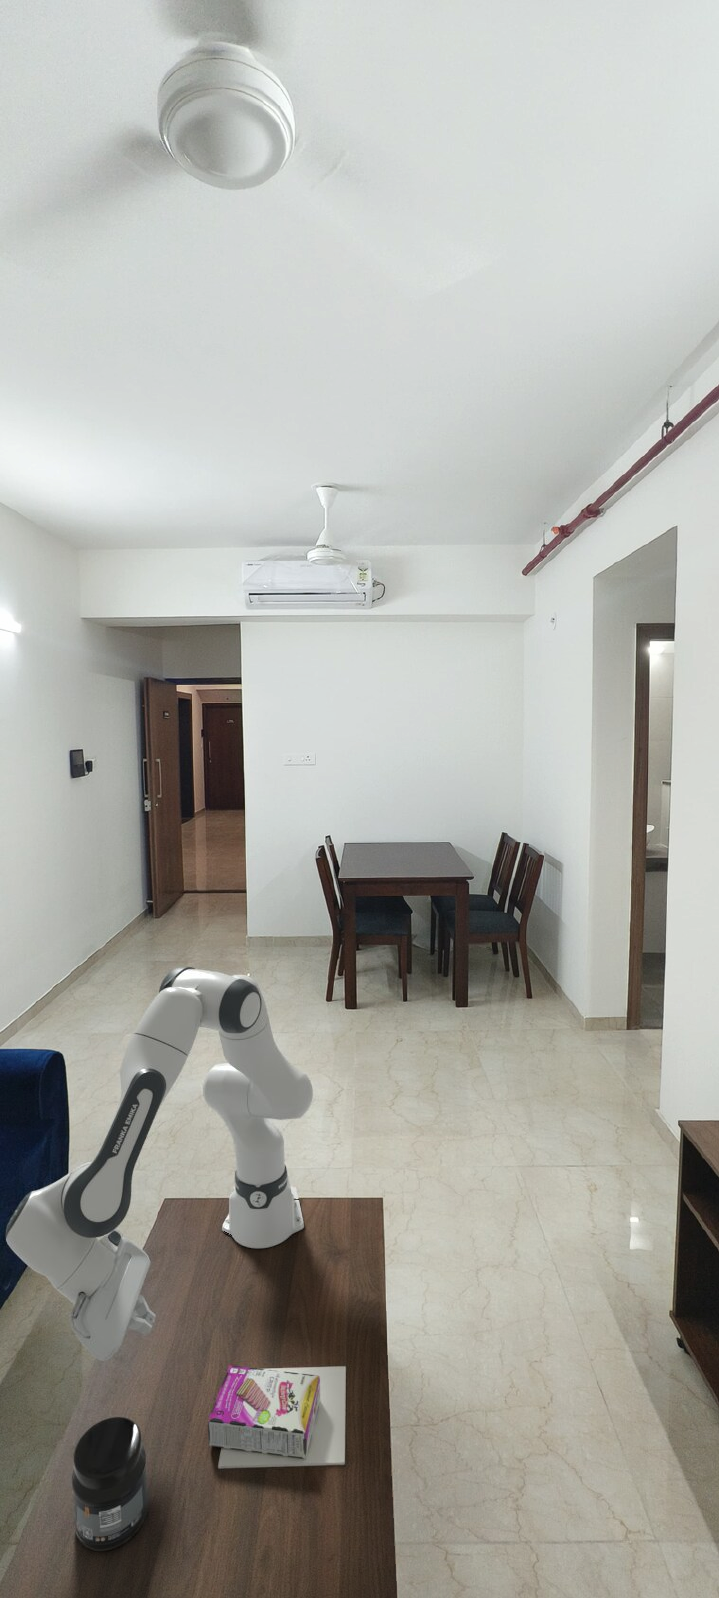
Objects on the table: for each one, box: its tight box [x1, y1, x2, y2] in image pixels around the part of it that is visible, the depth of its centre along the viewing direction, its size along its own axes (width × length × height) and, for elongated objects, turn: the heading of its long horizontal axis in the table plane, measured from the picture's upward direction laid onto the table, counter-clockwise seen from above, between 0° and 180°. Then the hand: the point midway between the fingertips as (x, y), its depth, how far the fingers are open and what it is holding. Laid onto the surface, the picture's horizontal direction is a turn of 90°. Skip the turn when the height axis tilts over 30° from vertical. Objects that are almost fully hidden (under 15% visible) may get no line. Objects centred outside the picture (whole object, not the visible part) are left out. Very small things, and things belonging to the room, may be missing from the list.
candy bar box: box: [207, 1364, 320, 1459], centre depth 128 cm, size 11×5×16 cm
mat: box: [217, 1365, 347, 1469], centre depth 130 cm, size 18×20×1 cm
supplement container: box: [70, 1416, 149, 1552], centre depth 114 cm, size 10×10×12 cm
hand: (151, 1326), depth 128 cm, fingers closed
